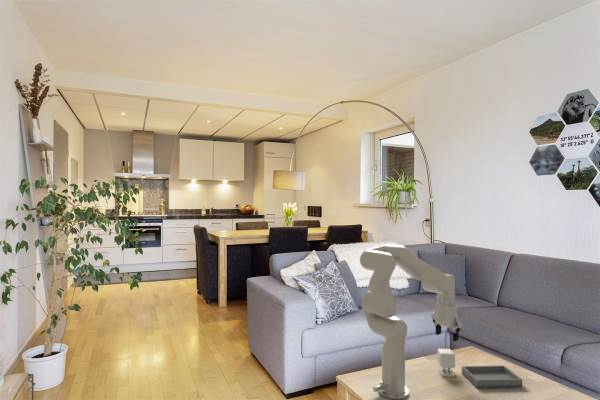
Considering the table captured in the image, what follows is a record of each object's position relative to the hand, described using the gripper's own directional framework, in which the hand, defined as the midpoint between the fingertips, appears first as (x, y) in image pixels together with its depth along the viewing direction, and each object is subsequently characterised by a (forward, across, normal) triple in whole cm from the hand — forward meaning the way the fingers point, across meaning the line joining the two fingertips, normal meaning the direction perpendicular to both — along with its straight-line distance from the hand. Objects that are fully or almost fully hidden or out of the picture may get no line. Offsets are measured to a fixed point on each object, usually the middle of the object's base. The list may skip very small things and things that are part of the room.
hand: (446, 337), depth 180 cm
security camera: (+17, 0, -1) cm, 17 cm away
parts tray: (+17, +15, +10) cm, 25 cm away
